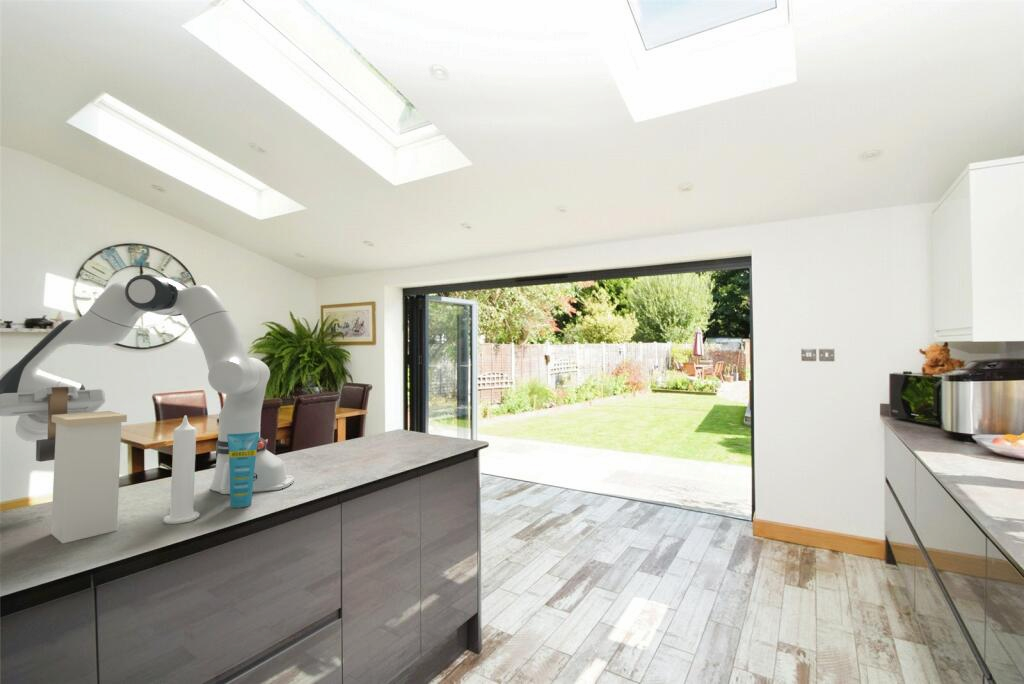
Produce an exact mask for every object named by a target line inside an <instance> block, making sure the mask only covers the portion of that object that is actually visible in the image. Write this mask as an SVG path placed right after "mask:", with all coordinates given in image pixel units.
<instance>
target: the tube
mask: <svg viewBox="0 0 1024 684" xmlns="http://www.w3.org/2000/svg"><path fill="white" fill-rule="evenodd" d="M227 439H228V447H229V464H230V494H229V506H230V507H231V508H235V509H237V508H239V509H240V508H246V507H249V506H251V504H252V498H253V492H252V490H253V479H254V469H255V460H256V452H257V445H258V439H259V432H251V433H240V434H227Z"/></svg>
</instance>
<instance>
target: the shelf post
mask: <svg viewBox="0 0 1024 684" xmlns="http://www.w3.org/2000/svg"><path fill="white" fill-rule="evenodd" d="M127 416H128V415H127V414H124V413H120V412H115V411H111V410H105V411H95V412H87V413H72V414H58V415H52V418H51V422H54V423H56V438H55V460H53V461H54V463H53V486H52V487H53V488H52V506H51V508H52V509H51V526H50V527H51V528H50V531H51V532H50V534H51V535H52V536H53V537H54V538H55V539H56V540H58V541H59V542H60V543H61V544H66V543H67V544H68V543H69V542H74V541H79V540H83V539H87V538H91V537H95V536H101V535H104V534H108V533H112V532H116V531H117V530H118V518H119V517H118V513H119V512H118V511H119V493H120V492H119V489H120V487H119V486H120V468H121V467H120V466H121V465H120V464H121V445H122V444H121V441H122V436H121V435H122V423H126V422H127V421H128V420H127V418H128V417H127Z"/></svg>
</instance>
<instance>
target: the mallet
mask: <svg viewBox="0 0 1024 684" xmlns="http://www.w3.org/2000/svg"><path fill="white" fill-rule="evenodd" d="M67 399H68V387H52V394H51V396H48V439H43V440H36V442H35V443H36V444H35V445H36V446H35V447H36V449H35V461H37V462H47V461H48V462H49V461H54V460H55V438H56V423H54V422H51V418H52V415H58V414H67Z"/></svg>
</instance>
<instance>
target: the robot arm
mask: <svg viewBox="0 0 1024 684" xmlns="http://www.w3.org/2000/svg"><path fill="white" fill-rule="evenodd" d="M148 312H149V313H152V314H156V315H162V316H171V317H178V316H183V317H184V318H185V321H186V323H187V324H188V326H189V327H190V329H191V331H192V332H193V334H194V337H195V338H196V340H197V342H198V344H199V346H200V347H201V349H202V352H203V354H204V358H205V361H206V365H207V367H208V374H207V379H208V383H209V385H210V387H211V388H212V389H213V390H215V391H216V392H218V393H220V394H223V395H226V396H225V399H224V403H223V406H222V408H221V410H220V412H219V415H218V433H217V434H218V435H217V437H218V439H217V440H216V444H215V458H216V464H215V469H214V470H215V471H214V473H213V478H212V482H211V484H210V487H209V489H210V490H211V491H213V492H218V493H220V494H221V495H230V464H229V447H228V439H227V434H240V433H251V432H259V439H258V445H257V452H256V460H255V469H254V479H253V490H252V493H256V492H268V491H269V492H270V491H279V490H282V488H283V489H285V488H288V487H289V486H291V485H292V484H293V483H294V482H293V481H295V477H294V476H293V475H292V474H288V472H287V468H286V467H287V466H286V463H285V462H284V460H283V459H281V458H280V457H278V456H277V455H275V453H274V454H273V453H272V452H271V451H269V450H268V449H267V444H268V443H269V442H268V440H269V439H268V438H267V439H264V438H263V437H262V436H261V424H262V423H261V422H262V420H261V419H262V411H263V404H264V399H265V395H266V390H267V385H268V382H269V380H270V378H271V371H270V368H269V367H268V364H266V363H265V362H264V361H262V360H260V359H258V358H255V357H249V356H248V355H247V354H246V350H245V348H244V345H243V341H242V338H243V337H242V333H241V331H240V329H239V328H238V325H237V323H236V322H235V320H234V318H233V316H232V314H231V313H230V312H229V310H228V309H227V307H226V305H225V303H224V302H223V301H222V299H221V297H219V295H218V294H217V293H216V291H214V290H213V289H212V288H211V287H210V286H208V285H204V284H196V285H195V284H194V285H191V286H187V285H185V284H184V283H181V282H178V281H175V280H174V279H171V278H168V277H164V276H160V275H159V276H158V275H156V274H149V273H148V274H140V275H136V276H134V277H133V278H131V279H129V281H128V282H115V283H112V284H111V285H109V286H108V287H107V288H106V289H105V290H104V291H103V292H102V293H101V294H100V295H99V296H98V297H97V298H96V300H95V301H93V304H92V305H91V306H90V307H89V309H88V310H87V312H86V313H84V314H83V315H81V316H80V317H78V318H75V319H66V320H64V321H62V322H60V323H59V324H58V325H57V326H55V327H54V328H53V329H52V330H51V331H50V332H49V333H47V334H46V335H45V336H44V337H43V338H42V339H41V340H40V341H39V342H38V343H37V344H36V345H34V346H33V348H31V349H30V350H29V352H27V353H26V354H25V355H24V356H23V357H22V358H21V359H20V360H18V362H16V363H15V364H14V365H13V366H11V367H10V368H8V369H6V370H5V371H4V372H3V373H2V374H1V375H0V417H17V416H18V418H17V421H16V423H15V433H16V435H17V436H18V437H19V438H20V439H21V440H23V441H25V442H30V443H36V440H43V439H48V396H51V394H52V387H68V399H67V414H72V413H87V412H98V410H99V409H100V408H101V407H102V406H103V405H104V404H105V403H106V393H105V392H106V391H105V390H104V389H101V388H98V389H86V388H85V386H84V384H83V383H80V382H78V381H75V380H71V379H68V378H66V377H63V376H62V377H61V376H59V375H56V374H53V373H51V372H47V371H44V370H42V369H41V368H39V366H41V364H42V363H44V361H46V359H48V358H49V356H51V355H52V354H53V353H54V352H55V351H56V350H57V349H59V348H60V347H62V346H66V345H68V346H69V345H81V346H82V345H83V346H95V347H102V346H103V347H104V346H111V345H115V344H118V343H120V342H122V341H123V340H124V339H125V338H126V337H127V336H128V335H129V334H130V332H131V331H132V330H133V329H134V327H135V325H136V324H137V322H138V321H139V319H140V318H141V317H142V316H143V315H144V314H147V313H148ZM290 484H291V485H290Z"/></svg>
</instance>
